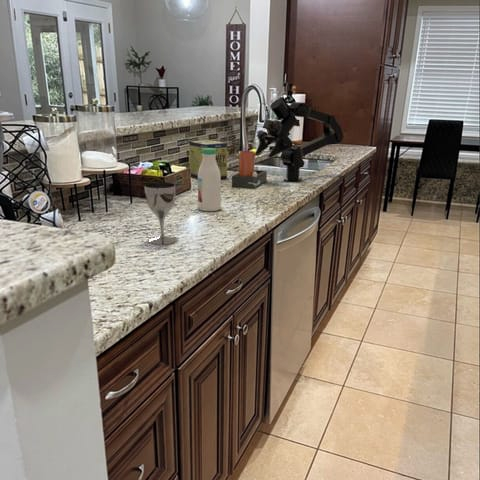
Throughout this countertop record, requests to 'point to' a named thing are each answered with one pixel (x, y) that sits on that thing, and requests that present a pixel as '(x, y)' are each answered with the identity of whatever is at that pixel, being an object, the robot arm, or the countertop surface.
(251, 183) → the pacifier
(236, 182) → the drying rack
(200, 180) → the milk bottle
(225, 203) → the countertop surface
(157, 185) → the wine glass
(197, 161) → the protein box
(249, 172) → the tumbler
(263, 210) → the countertop surface
